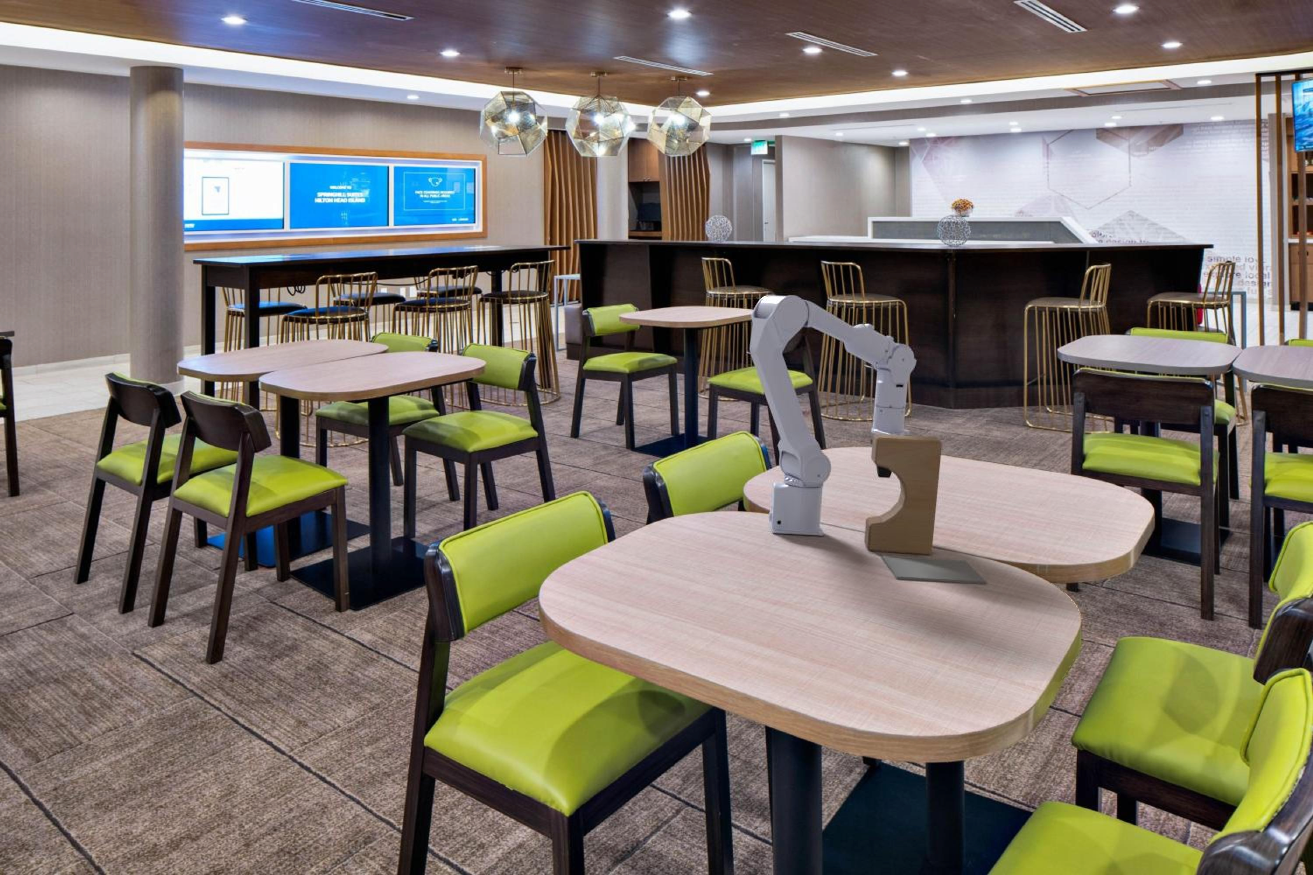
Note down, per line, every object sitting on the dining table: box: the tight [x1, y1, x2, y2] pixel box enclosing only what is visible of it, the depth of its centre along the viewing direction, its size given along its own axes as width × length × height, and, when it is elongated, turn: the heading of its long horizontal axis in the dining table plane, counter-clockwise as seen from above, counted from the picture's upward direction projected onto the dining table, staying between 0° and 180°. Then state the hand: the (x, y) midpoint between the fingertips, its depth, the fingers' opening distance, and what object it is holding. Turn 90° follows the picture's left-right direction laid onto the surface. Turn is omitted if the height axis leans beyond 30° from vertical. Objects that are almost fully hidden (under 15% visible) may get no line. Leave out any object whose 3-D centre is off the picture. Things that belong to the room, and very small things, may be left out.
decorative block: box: [863, 434, 943, 556], centre depth 165 cm, size 11×6×20 cm, turn 83°
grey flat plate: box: [881, 555, 988, 585], centre depth 154 cm, size 14×12×1 cm
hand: (883, 477), depth 181 cm, fingers closed
